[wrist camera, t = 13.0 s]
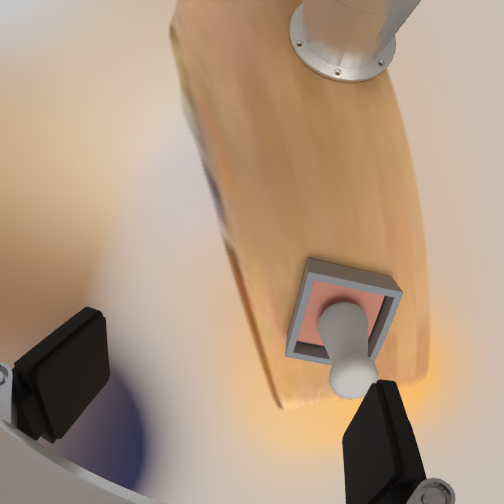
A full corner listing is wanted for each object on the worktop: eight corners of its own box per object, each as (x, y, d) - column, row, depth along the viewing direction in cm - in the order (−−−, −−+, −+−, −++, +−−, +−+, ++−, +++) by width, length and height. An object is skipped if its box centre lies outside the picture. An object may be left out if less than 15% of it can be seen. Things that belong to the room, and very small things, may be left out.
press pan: (314, 272, 36) (315, 275, 35) (384, 288, 35) (386, 291, 34) (296, 336, 38) (296, 340, 38) (361, 348, 38) (362, 352, 37)
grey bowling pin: (374, 314, 35) (401, 381, 23) (340, 345, 37) (352, 418, 25) (340, 284, 35) (358, 347, 22) (306, 318, 36) (307, 389, 24)
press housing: (307, 257, 37) (308, 271, 32) (391, 276, 36) (403, 292, 32) (287, 335, 41) (284, 356, 36) (364, 349, 40) (370, 371, 35)
